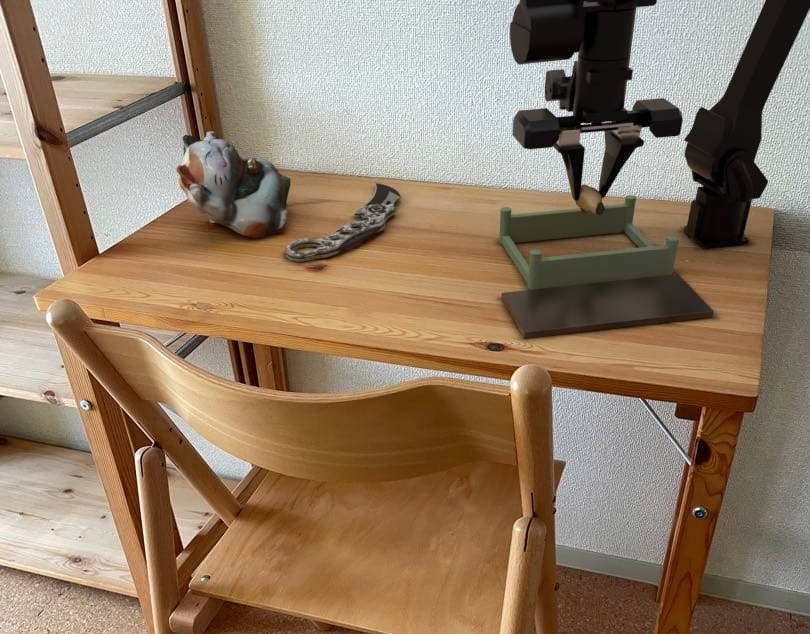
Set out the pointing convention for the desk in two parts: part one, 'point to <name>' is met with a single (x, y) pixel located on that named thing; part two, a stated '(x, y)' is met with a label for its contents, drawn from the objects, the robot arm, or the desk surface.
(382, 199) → the knife
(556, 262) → the frame
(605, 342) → the desk surface
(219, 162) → the lucky cat figurine
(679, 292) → the board
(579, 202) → the brazil nut
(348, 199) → the desk surface
